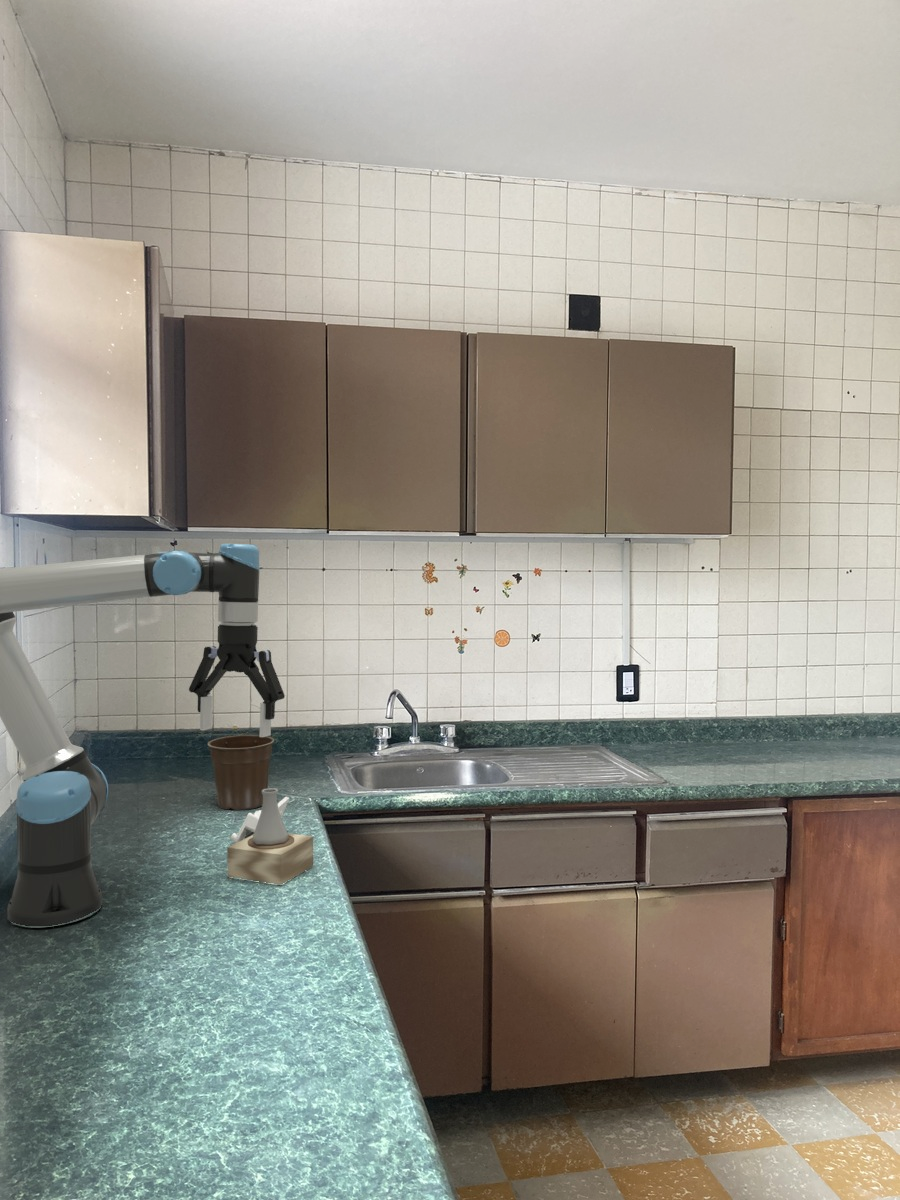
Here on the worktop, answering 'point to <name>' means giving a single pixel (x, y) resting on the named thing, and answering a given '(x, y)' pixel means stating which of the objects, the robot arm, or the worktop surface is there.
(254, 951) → the worktop surface
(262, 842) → the flask
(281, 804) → the mounting bracket
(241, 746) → the plant pot
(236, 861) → the wooden stand
